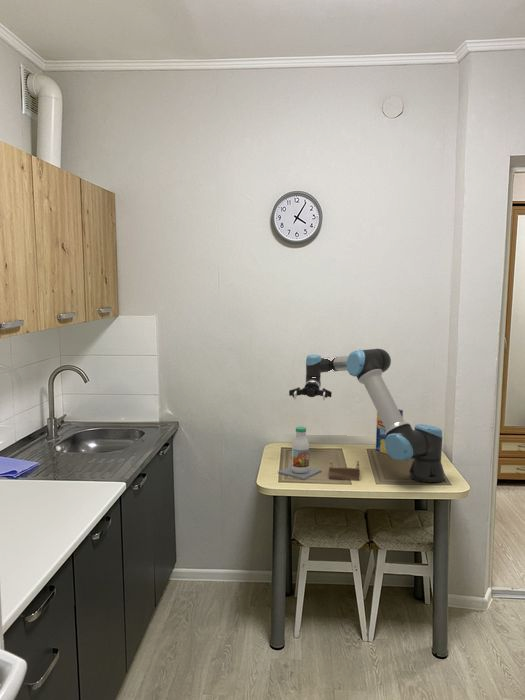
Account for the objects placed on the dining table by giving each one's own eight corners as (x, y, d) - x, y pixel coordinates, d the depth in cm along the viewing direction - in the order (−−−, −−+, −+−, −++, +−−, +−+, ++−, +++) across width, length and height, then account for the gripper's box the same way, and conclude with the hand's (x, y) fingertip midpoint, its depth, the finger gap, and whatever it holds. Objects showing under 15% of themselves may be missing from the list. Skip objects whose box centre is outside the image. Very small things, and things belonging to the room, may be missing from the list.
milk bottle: (288, 470, 260) (288, 427, 258) (300, 467, 266) (300, 424, 263) (300, 475, 255) (301, 430, 252) (312, 471, 260) (313, 427, 258)
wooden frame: (329, 469, 264) (330, 459, 264) (358, 471, 263) (358, 460, 262) (329, 478, 253) (329, 467, 252) (359, 480, 251) (359, 469, 250)
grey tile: (321, 471, 262) (321, 470, 262) (304, 479, 251) (304, 478, 251) (296, 465, 270) (296, 463, 270) (278, 473, 260) (278, 471, 259)
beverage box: (384, 448, 300) (385, 406, 297) (401, 453, 291) (403, 410, 288) (375, 450, 295) (377, 408, 293) (392, 455, 287) (394, 412, 284)
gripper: (336, 396, 289) (336, 405, 269) (287, 395, 293) (282, 403, 272) (337, 381, 289) (336, 389, 268) (287, 380, 292) (282, 388, 271)
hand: (309, 396), depth 270 cm, fingers open, 13 cm apart
